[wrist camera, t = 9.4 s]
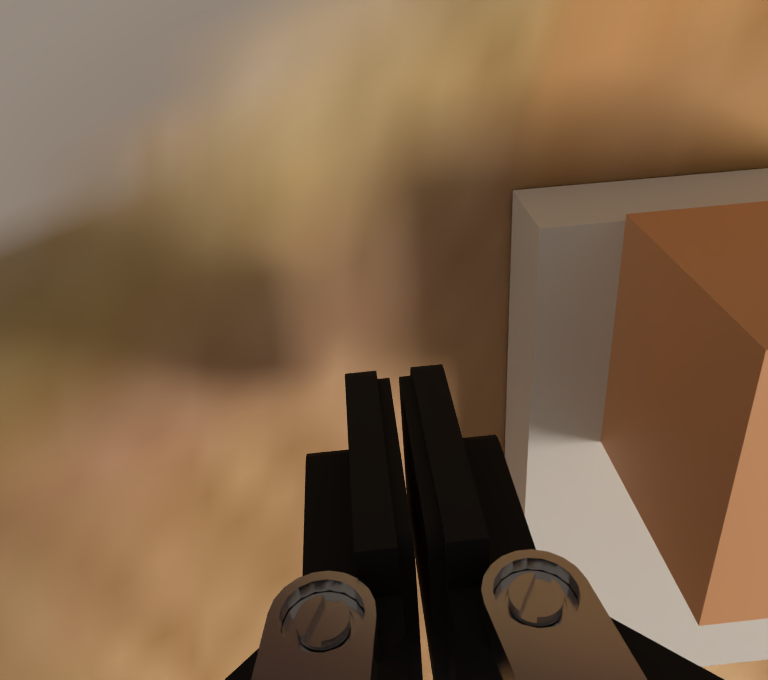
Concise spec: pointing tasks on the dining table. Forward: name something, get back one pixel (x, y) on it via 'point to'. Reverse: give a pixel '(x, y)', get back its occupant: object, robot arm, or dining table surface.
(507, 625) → the robot arm
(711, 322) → the block
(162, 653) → the dining table surface
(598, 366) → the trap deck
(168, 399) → the dining table surface
